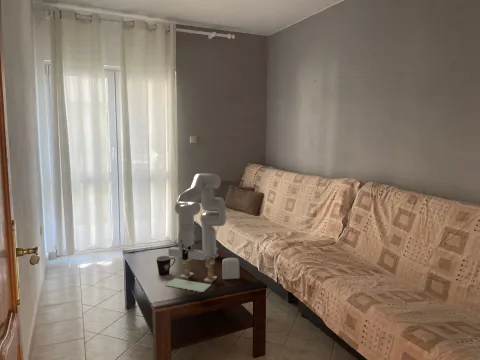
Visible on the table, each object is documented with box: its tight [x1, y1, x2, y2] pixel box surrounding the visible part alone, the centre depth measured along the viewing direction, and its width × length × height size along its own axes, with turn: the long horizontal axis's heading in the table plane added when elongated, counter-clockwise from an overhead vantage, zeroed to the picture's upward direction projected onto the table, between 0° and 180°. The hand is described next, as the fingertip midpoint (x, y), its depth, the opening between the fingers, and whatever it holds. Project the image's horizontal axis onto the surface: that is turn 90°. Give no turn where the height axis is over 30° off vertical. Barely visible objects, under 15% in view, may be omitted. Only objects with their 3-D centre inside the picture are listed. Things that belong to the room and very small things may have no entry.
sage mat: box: [164, 278, 212, 293], centre depth 202 cm, size 10×24×1 cm, turn 67°
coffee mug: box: [155, 255, 176, 277], centre depth 220 cm, size 12×9×10 cm
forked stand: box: [179, 256, 218, 284], centre depth 212 cm, size 7×21×13 cm, turn 67°
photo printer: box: [221, 257, 241, 280], centre depth 212 cm, size 10×4×12 cm, turn 96°
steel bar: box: [167, 246, 206, 261], centre depth 200 cm, size 4×22×4 cm, turn 67°
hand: (187, 258), depth 200 cm, fingers closed on steel bar, 4 cm apart
